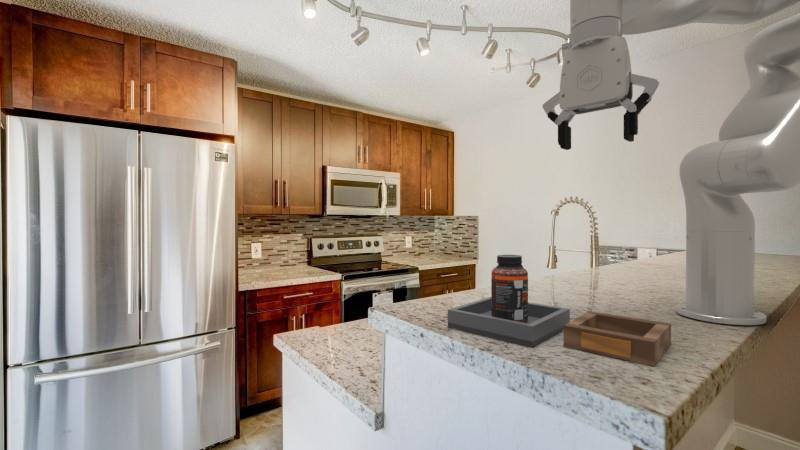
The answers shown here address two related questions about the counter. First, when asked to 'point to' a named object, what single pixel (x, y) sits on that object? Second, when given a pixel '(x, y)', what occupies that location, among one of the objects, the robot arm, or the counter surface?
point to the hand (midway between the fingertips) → (595, 144)
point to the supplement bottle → (510, 289)
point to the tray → (509, 322)
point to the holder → (619, 337)
